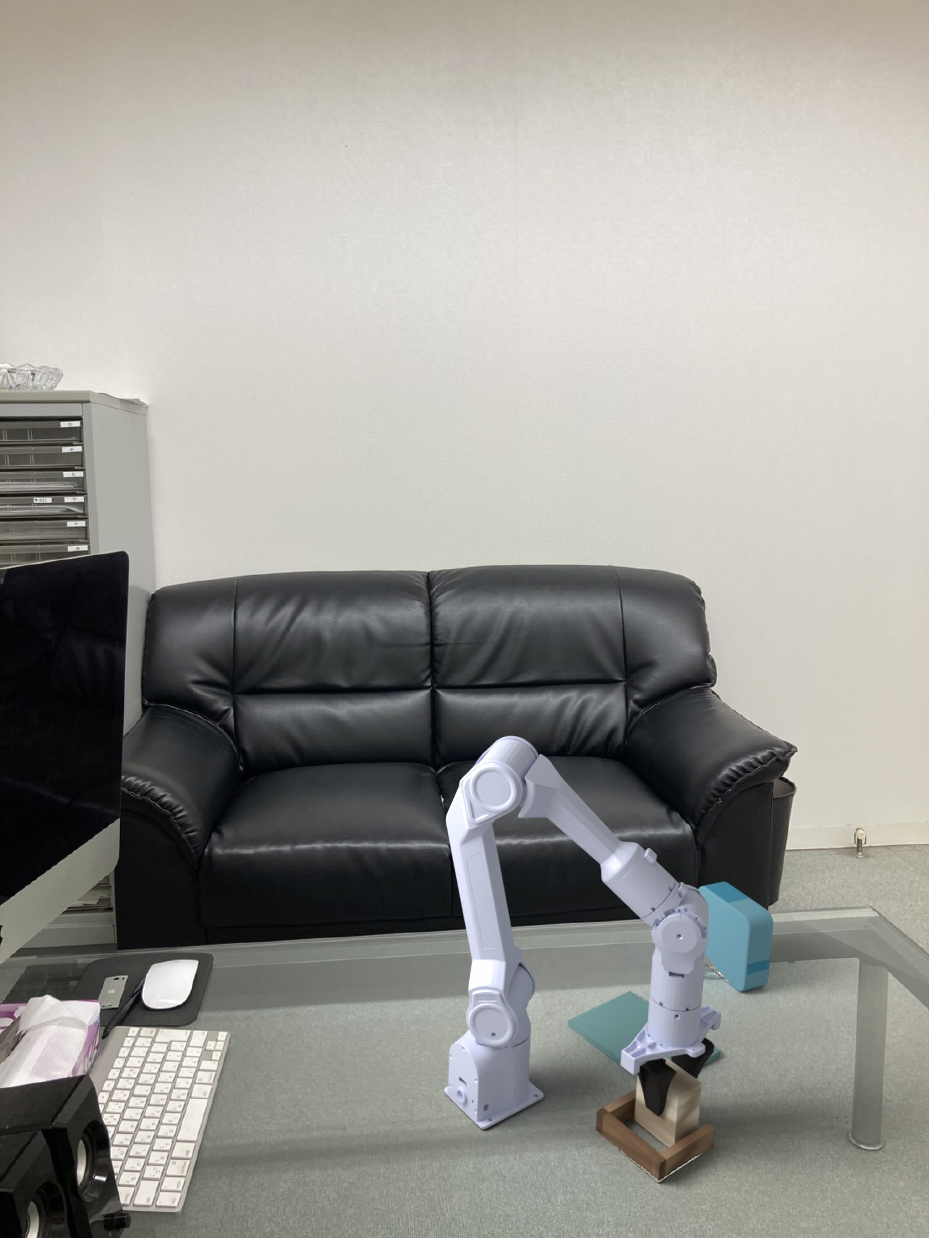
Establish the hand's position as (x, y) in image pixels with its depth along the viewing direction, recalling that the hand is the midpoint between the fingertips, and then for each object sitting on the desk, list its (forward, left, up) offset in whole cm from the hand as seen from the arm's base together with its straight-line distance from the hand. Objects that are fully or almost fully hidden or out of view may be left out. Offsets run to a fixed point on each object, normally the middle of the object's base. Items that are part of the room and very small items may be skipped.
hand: (667, 1102), depth 108 cm
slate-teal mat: (+10, +13, -4) cm, 17 cm away
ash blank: (0, 0, -3) cm, 3 cm away
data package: (+33, +17, -4) cm, 37 cm away
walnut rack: (-2, 0, -4) cm, 4 cm away
